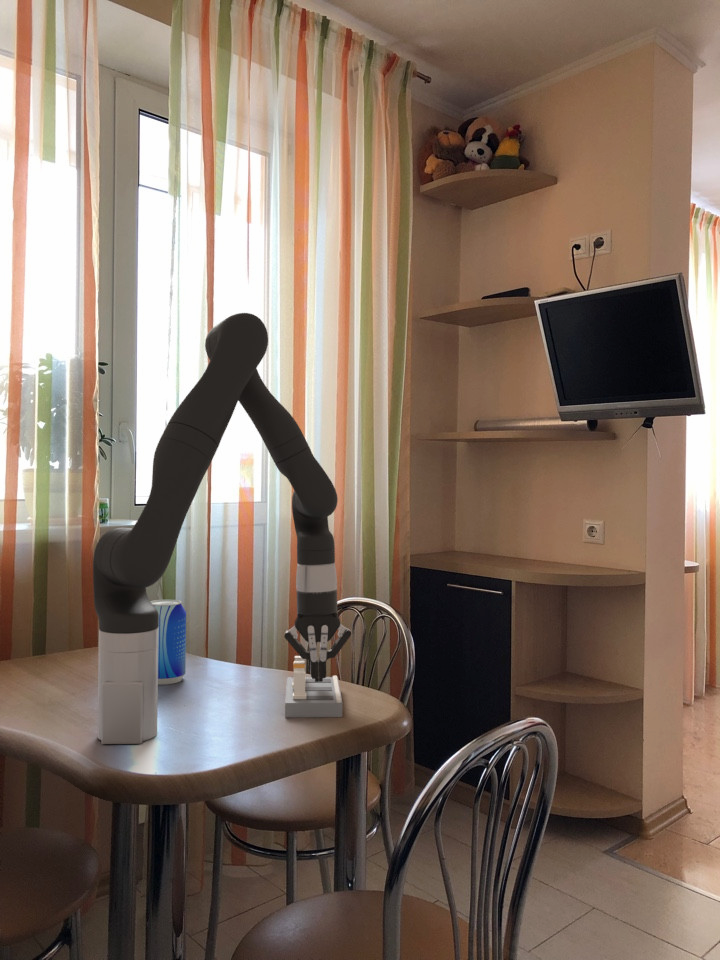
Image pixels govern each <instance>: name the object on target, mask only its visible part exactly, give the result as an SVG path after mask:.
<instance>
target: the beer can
mask: <svg viewBox="0 0 720 960" xmlns="http://www.w3.org/2000/svg"><path fill="white" fill-rule="evenodd" d="M150 602H151V603H152V605H153V606H154V607H155V608H156V609H157V611H158V615H159V631H158V686H161V685H163V686H164V685H173V684H177V683H179V682H181V681H182V680H183V677H184V676H185V675H186V668H187V667H186V661H187V659H186V655H187V654H186V653H187V650H186V649H187V648H186V647H187V612H186V610H185V608H184V607H183V604H182V601H181V600H179V599H178V600H177V599H156V600H155V599H154V600H151V601H150Z"/></svg>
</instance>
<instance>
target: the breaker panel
mask: <svg viewBox="0 0 720 960" xmlns="http://www.w3.org/2000/svg"><path fill="white" fill-rule="evenodd" d="M294 661H305V662H306V659H302V658H301V656H300V655H294ZM306 673H307V672H306V667H305V668H304V671H294V670H293V677H291V676H290V677H288V676H287V677H286V683H285V684H286V686H285V687H286V688H285V699H284V700H285V701H284V702H285V703H284V718H342V717H343V699H342V693H341V688H340V687H341V686H340V682H339V678H338V676H337V675H332V676H326V678H323V682H315V679H312V677H311V676H307V675H306ZM293 678H294V688H292V682H293Z"/></svg>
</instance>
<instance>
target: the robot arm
mask: <svg viewBox="0 0 720 960" xmlns="http://www.w3.org/2000/svg"><path fill="white" fill-rule="evenodd" d="M268 345H269V333H268V329H267V327H266V325H265V324H264V322H263V320H262V319H261V318H259V317H258V316H257V315H255V314H254V313H249V312H240V313H235V314H232V315H230V316H228V317H226V318H225V319H223V320H222V321H220V322H219V323H217V324H216V325H214V326H213V327H212V328H211V329H210V330H209V332H208V333H207V334H206V338H205V342H204V348H205V349H204V350H205V352H206V356H207V358H208V359H209V362H208V364H207V367H206V369H205V370H204V372H203V374H202V375H201V377H200V379H199V380H198V381H197V382H196V384H195V385H194V386H193V388H192V389H190V391H189V392H188V394H187V395H186V396H185V398H184V399H183V400H182V401H181V403H180V404H179V406H178V407H177V409H176V410H175V411H174V413H173V414H172V415H171V417H170V419H169V420H168V423H167V425H166V426H165V429H164V431H163V433H162V434H161V436H160V438H159V440H158V442H157V445H156V448H155V451H154V454H153V462H152V475H151V477H152V478H151V489H150V492H149V495H148V499H147V501H146V504H145V506H144V507H143V509H142V511H141V513H140V515H139V517H138V519H137V521H136V522H135V524H134V525H133V527H131V528H130V527H116V528H112V529H110V530H108V531H107V532H105V533H104V534H103V535H102V536H100V538H99V539H98V541H97V543H96V546H95V547H94V553H93V559H92V570H93V571H92V581H93V585H92V587H93V604H94V610H95V613H96V616H97V617H98V618H97V619H98V662H97V663H98V668H97V669H98V670H97V671H98V673H97V674H98V676H97V739H98V740H99V741H101V742H100V743H101V745H122V744H127V745H128V744H129V745H130V744H133V745H134V744H136V745H137V744H142V743H144V742H145V741H147V740H150V739H153V738H155V736H157V734H158V710H159V709H158V700H159V699H158V697H159V696H158V693H159V690H158V689H159V687H158V686H159V685H158V631H159V615H158V611H157V609H156V608H155V607H154V606H153V605H152V603H151V602H150V598H149V597H148V594H147V588H149V587H151V586H153V585H154V584H156V583H157V582H158V581H160V579H161V578H162V577H163V575H164V574H165V573H166V570H167V568H168V566H169V564H170V562H171V559H172V556H173V554H174V551H175V548H176V547H175V546H176V545H177V542H178V538H179V536H180V533H181V531H182V528H183V524H184V521H185V519H186V517H187V515H188V511H189V509H190V507H191V505H192V504H193V501H194V499H195V496H196V494H197V493H198V490H199V488H200V485H201V483H202V481H203V479H204V476H205V475H206V473H207V472H208V470H209V467H210V466H211V463H212V462H213V459H214V457H215V455H216V453H217V451H218V449H219V446H220V444H221V441H222V439H223V437H224V434H225V432H226V430H227V428H228V425H229V423H230V421H231V419H232V416H233V414H234V412H235V410H236V407H237V405H238V402H239V404H240V405H241V406H242V408H243V409H244V411H245V413H246V414H247V415H248V417H249V419H250V421H251V422H252V423H253V425H254V427H255V429H256V430H257V433H258V434H259V436H260V437H261V440H262V441H263V443H264V445H265V447H266V448H267V449H266V450H267V451H268V453H269V455H270V457H271V458H272V460H273V463H274V465H275V466H276V469H277V470H278V472H280V473H281V475H283V476H284V477H285V478H286V479H287V480H288V482H289V483H290V485H291V487H292V490H293V493H292V497H291V511H292V517H293V519H292V520H293V525H294V531H295V535H296V564H297V565H296V576H295V577H296V579H295V581H296V582H295V586H296V591H295V592H296V618H295V621H294V625H293V626H292V627H291V628H290V629H287V630H285V631H284V634H283V635H284V639H285V640H286V641H287V642H288V644H289V645H290V646H291V648H293V649H294V651H296V653H297V654H298V656H301V658H302V659H305V660H307V661H309V662H310V677H312V679H315V682H323V678H326V677H327V661H328V660H330V659H334V658H335V657H336V656H337V655H338V653H339V652H340V651H341V650H342V648H343V647H344V645H345V644H346V643H347V642H348V640H349V639H350V637H351V635H352V631H351V629H350V628H349V627H346V626H344V625H343V624H341V623H342V621H341V619H340V617H339V615H338V611H339V610H338V579H337V578H338V577H337V569H336V556H335V555H336V553H335V552H336V551H335V550H336V549H335V539H334V536H333V534H332V532H331V531H330V527H329V518H328V517H329V516H331V515H332V514H333V513H334V512H335V511H336V508H337V506H338V493H337V490H336V488H335V486H334V483H333V482H332V481H331V479H330V477H329V475H328V474H327V472H326V471H325V469H323V467H322V466H321V464H320V463H319V462H318V460H317V458H316V457H315V455H314V454H313V452H312V450H311V447H310V446H309V444H308V441H307V439H306V437H305V436H304V433H303V431H302V430H301V428H300V426H299V424H298V423H297V421H296V420H295V418H294V417H293V415H292V414H291V413H290V411H288V410H287V408H285V407H284V405H282V404H281V403H280V401H279V400H277V398H276V397H275V396H274V395H273V394H272V393H271V392H270V390H269V388H268V387H267V386H266V384H265V383H264V381H263V379H262V377H261V376H260V373H259V371H258V369H257V368H258V367H259V365H260V363H261V362H262V360H263V358H264V356H265V355H266V353H267V351H268ZM337 631H338V632H337ZM298 633H299V634H300V636H301V637H302V638H303V640H304V641H306V642H307V643H308V645H309V646H308V647H309V650H306V648H305V647H304V646H303V645H302V643H301V641H299V640H298V638H299V635H298ZM336 633H337V636H338V637H337V639H336V641H335V642H334V643H333V644H332V645H331V647H330V649H328V642H329V641H331V640H332V638H333V637H334V635H335V634H336ZM317 643H319V656H318V651H317ZM318 657H319V659H318Z"/></svg>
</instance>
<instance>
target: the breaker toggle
mask: <svg viewBox="0 0 720 960" xmlns="http://www.w3.org/2000/svg"><path fill="white" fill-rule="evenodd" d="M292 665H293V672H294V671H304V668H305V669H306V660H305V661H295V660H294V661H293V663H292ZM292 688H294V678H293V682H292Z"/></svg>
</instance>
